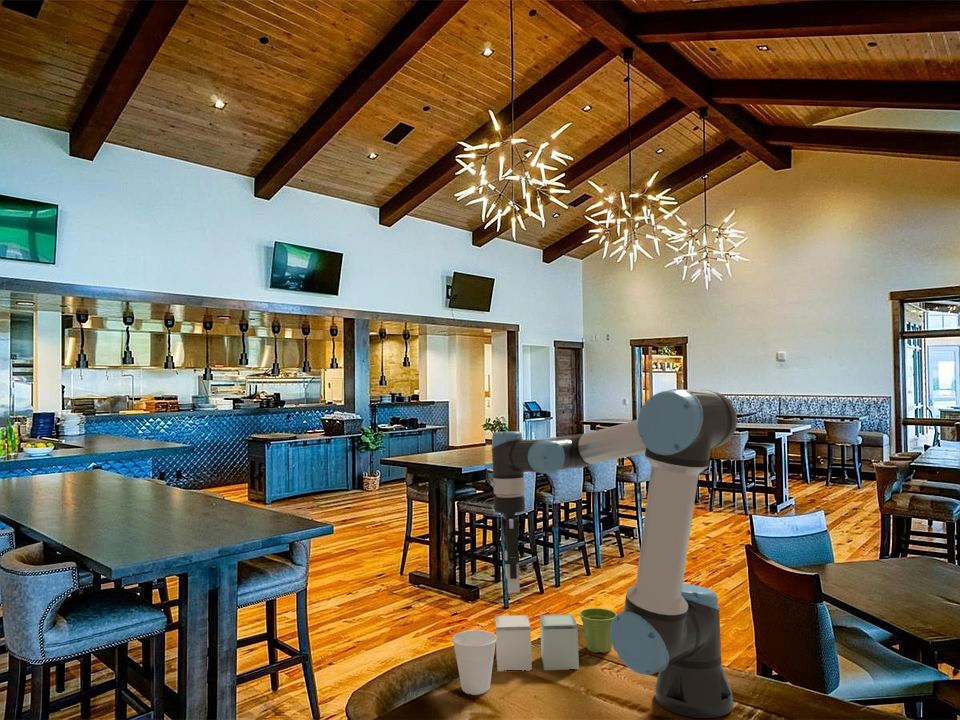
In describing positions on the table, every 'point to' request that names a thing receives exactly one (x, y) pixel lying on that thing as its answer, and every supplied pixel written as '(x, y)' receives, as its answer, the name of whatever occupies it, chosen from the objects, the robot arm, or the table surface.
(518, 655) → the white cover
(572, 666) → the sage cover
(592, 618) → the plant pot
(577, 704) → the table surface
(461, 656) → the cup
